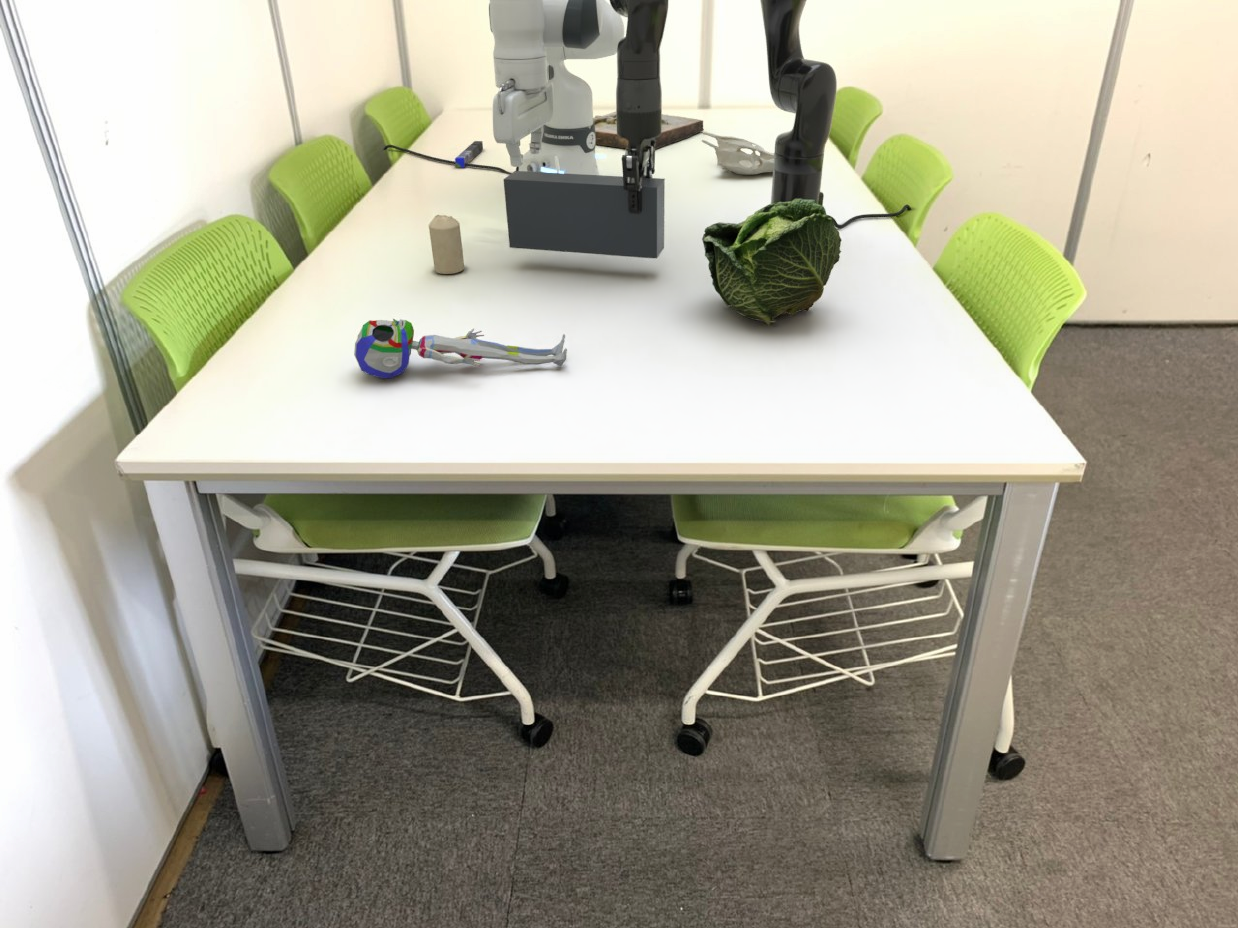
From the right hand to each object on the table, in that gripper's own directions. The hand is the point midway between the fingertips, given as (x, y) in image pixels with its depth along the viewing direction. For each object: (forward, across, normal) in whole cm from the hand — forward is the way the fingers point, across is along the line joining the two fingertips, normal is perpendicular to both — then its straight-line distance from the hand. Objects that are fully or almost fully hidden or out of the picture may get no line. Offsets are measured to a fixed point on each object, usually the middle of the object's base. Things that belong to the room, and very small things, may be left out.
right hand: (639, 207), depth 157 cm
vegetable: (+12, -13, -25) cm, 31 cm away
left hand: (-7, 0, +20) cm, 22 cm away
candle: (+12, -6, +35) cm, 38 cm away
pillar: (+12, +74, +66) cm, 100 cm away
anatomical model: (+13, +76, -9) cm, 77 cm away
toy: (+12, -44, +16) cm, 48 cm away
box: (+8, 0, +10) cm, 13 cm away
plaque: (+13, +109, +30) cm, 113 cm away
